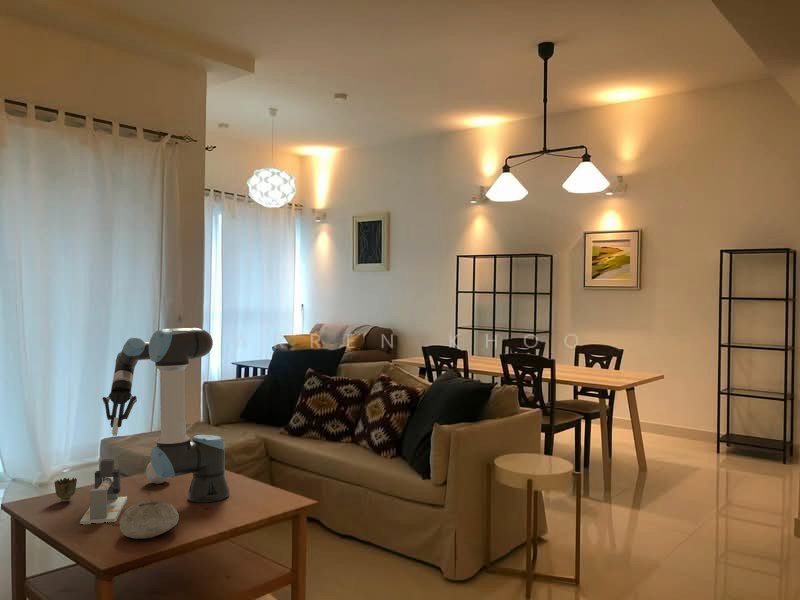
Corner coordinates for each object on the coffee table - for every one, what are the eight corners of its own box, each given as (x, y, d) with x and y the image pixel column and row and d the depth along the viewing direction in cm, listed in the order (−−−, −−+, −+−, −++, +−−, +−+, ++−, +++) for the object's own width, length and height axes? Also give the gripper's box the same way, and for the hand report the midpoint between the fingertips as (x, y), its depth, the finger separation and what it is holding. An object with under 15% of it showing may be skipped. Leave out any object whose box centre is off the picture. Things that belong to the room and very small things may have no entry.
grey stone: (134, 523, 216) (134, 494, 216) (186, 524, 216) (186, 494, 216) (109, 544, 199) (109, 512, 198) (165, 545, 198) (165, 513, 198)
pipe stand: (95, 501, 238) (95, 472, 238) (127, 499, 241) (127, 470, 241) (80, 524, 215) (79, 492, 215) (115, 521, 218) (115, 489, 218)
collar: (96, 492, 233) (96, 459, 233) (120, 491, 235) (120, 458, 235) (94, 495, 231) (94, 462, 230) (118, 493, 233) (118, 460, 232)
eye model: (176, 480, 266) (176, 456, 266) (162, 487, 256) (162, 462, 256) (155, 478, 268) (155, 454, 268) (140, 485, 258) (140, 461, 258)
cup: (81, 498, 242) (81, 477, 242) (69, 505, 235) (69, 483, 235) (62, 498, 243) (62, 477, 243) (50, 504, 236) (49, 482, 235)
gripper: (140, 389, 267) (133, 438, 251) (106, 390, 264) (97, 439, 248) (138, 378, 262) (131, 427, 246) (103, 379, 259) (94, 429, 243)
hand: (114, 433), depth 247 cm, fingers closed
